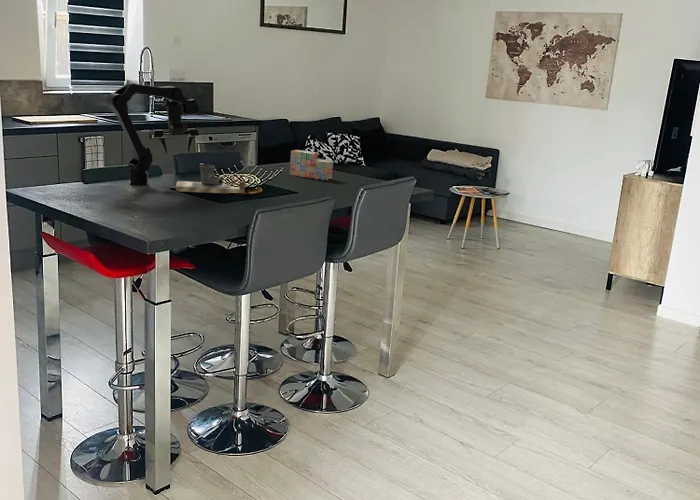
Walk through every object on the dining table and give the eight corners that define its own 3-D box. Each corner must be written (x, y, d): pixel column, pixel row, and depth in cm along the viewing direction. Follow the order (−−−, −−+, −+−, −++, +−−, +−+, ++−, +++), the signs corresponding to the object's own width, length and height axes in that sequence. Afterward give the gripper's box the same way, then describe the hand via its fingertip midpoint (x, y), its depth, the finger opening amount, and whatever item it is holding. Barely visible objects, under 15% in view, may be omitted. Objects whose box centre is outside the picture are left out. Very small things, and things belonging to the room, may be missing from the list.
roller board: (175, 191, 286) (176, 179, 284) (177, 185, 297) (177, 174, 296) (244, 194, 292) (244, 182, 290) (243, 188, 303) (243, 177, 301)
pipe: (215, 188, 288) (216, 169, 285) (194, 183, 295) (195, 164, 293) (226, 186, 292) (226, 168, 290) (205, 181, 300) (206, 163, 297)
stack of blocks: (332, 179, 344) (334, 155, 341) (325, 181, 338) (327, 156, 335) (296, 173, 353) (297, 149, 350) (289, 174, 348) (290, 150, 345)
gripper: (153, 118, 286) (156, 156, 290) (199, 117, 292) (201, 154, 296) (151, 116, 296) (154, 153, 300) (196, 115, 302) (198, 151, 306)
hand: (177, 152), depth 300 cm, fingers open, 9 cm apart
